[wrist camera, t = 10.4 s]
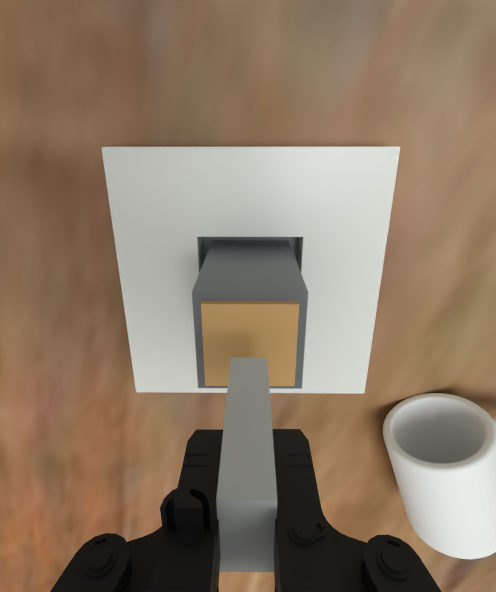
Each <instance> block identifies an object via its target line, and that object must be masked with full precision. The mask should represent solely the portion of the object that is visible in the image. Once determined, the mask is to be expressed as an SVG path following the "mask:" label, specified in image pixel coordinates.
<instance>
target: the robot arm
mask: <svg viewBox="0 0 496 592" xmlns="http://www.w3.org/2000/svg"><path fill="white" fill-rule="evenodd" d="M160 511H161V519H162V527H161V528H159V529H158V530H156V531H155V532H153V533H151V534H149V535H147V536H144V537H141V538H138V539H135V540H131V541H128V542H126V540H125V539H124V538H123V537H121V536H119V535H117V534H110V533H105V534H102V535H99V536H96V537H94V538H92V539H91V540H89V541H88V542H86V543H85V544H84V545H83V546H82V547H81V548H80V549H79V550H78V552H77V553H76V554H75V555H74V557H73V558H72V560H71V561H70V563H69V564H68V566H67V567H66V569H65V570H64V572H63V573H62V575H61V576H60V578H59V579H58V581H57V582H56V584H55V585H54V587H53V588H52V590H51V591H50V592H219V587H218V583H219V570H220V572H274V574H275V592H441V590H440V589H439V587H438V586H437V584H436V582H435V581H434V579H433V578H432V576H431V575H430V573H429V572H428V570H427V568H426V567H425V565H424V564H423V562H422V561H421V559H420V557H419V556H418V555H417V553H416V552H415V551H414V550H413V549H412V548H411V546H410V545H408V544H407V543H405V542H404V541H402V540H401V539H399V538H397V537H393V536H390V535H377V536H375V537H373V538H371V539H369V541H368V543H365V542H362V541H359V540H356V539H354V538H351V537H348V536H346V535H344V534H341V533H340V532H338V531H337V530H336V529H334V528H333V527H332V526H331V525H330V524H329V523H328V522H327V520H326V518H325V517H324V515H323V512H322V509H321V504H320V499H319V494H318V489H317V483H316V478H315V473H314V468H313V462H312V457H311V452H310V447H309V441H308V439H307V438H306V437H305V435H304V434H303V433H302V431H301V430H300V429H272V417H271V403H270V389H269V375H268V361H267V357H231V359H230V369H229V379H228V389H227V399H226V408H225V418H224V428H223V430H196V431H195V432H194V433H193V435H192V436H191V437H190V439H189V440H188V442H187V447H186V452H185V457H184V461H183V467H182V470H181V475H180V479H179V484H178V488H177V489H175V490H173V491H171V492H170V493H169V494H168V495H167V496H166V497H165V498H164V500H163V502H162V505H161V507H160Z"/></svg>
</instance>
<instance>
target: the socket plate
mask: <svg viewBox="0 0 496 592" xmlns="http://www.w3.org/2000/svg"><path fill="white" fill-rule="evenodd" d="M101 148H102V155H103V162H104V169H105V176H106V183H107V190H108V197H109V204H110V211H111V218H112V225H113V232H114V239H115V246H116V253H117V260H118V267H119V274H120V281H121V288H122V296H123V303H124V310H125V317H126V324H127V331H128V338H129V345H130V352H131V359H132V366H133V373H134V380H135V387H136V392H195V393H227V389H228V388H198V380H197V364H196V349H195V333H194V318H193V302H192V290H193V288H194V285H195V283H196V280H197V278H198V275H199V273H200V270H201V268H202V265H203V263H204V260H205V258H206V256H207V253H208V251H209V248H210V246H211V243H212V241H213V240H289V242H290V245H291V248H292V250H293V253H294V256H295V258H296V261H297V264H298V266H299V269H300V272H301V274H302V277H303V280H304V282H305V285H306V288H307V290H308V304H307V319H306V334H305V349H304V364H303V379H302V389H270V388H269V389H270V393H364V392H365V385H366V378H367V371H368V365H369V358H370V351H371V344H372V337H373V330H374V324H375V317H376V310H377V303H378V296H379V289H380V283H381V276H382V269H383V262H384V255H385V248H386V242H387V235H388V228H389V221H390V214H391V207H392V200H393V194H394V187H395V180H396V173H397V166H398V159H399V153H400V147H391V146H216V147H101Z"/></svg>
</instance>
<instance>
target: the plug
mask: <svg viewBox="0 0 496 592" xmlns="http://www.w3.org/2000/svg"><path fill="white" fill-rule="evenodd" d="M192 302H193V318H194V333H195V349H196V364H197V380H198V388H228V379H229V369H230V359H231V357H267V361H268V375H269V388H270V389H302V379H303V364H304V349H305V334H306V319H307V304H308V290H307V288H306V285H305V282H304V280H303V277H302V274H301V272H300V269H299V266H298V264H297V261H296V258H295V256H294V253H293V250H292V248H291V245H290V242H289V240H213V241H212V243H211V246H210V248H209V251H208V253H207V256H206V258H205V260H204V263H203V265H202V268H201V270H200V273H199V275H198V278H197V280H196V283H195V285H194V288H193V290H192Z"/></svg>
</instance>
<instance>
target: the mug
mask: <svg viewBox="0 0 496 592" xmlns="http://www.w3.org/2000/svg"><path fill="white" fill-rule="evenodd" d="M383 437H384V441H385V444H386V447H387V451H388V454H389V457H390V461H391V464H392V467H393V471H394V474H395V477H396V481H397V484H398V487H399V491H400V494H401V497H402V501H403V504H404V507H405V510H406V514H407V517H408V520H409V522H410V524H411V526H412V528H413V529H414V531H415V532H416V533H417V535H418V536H419V537H420V538H421V539H422V540H423V541H424V542H425V543H427V544H428V545H429V546H431V547H432V548H434V549H435V550H437V551H439V552H441V553H443V554H446V555H449V556H452V557H456V558H461V559H478V558H483V557H486V556H489V555H491V554H493V553H495V552H496V419H492V418H491V417H490V415H489V414H488V413H487V412H486V411H485V410H484V409H482V408H481V407H480V406H478V405H477V404H475V403H473V402H472V401H470V400H467V399H465V398H462V397H459V396H455V395H451V394H444V393H428V394H421V395H416V396H413V397H410V398H408V399H405V400H404V401H402V402H400V403H399V404H397V405H396V406H395V407H394V408H392V410H391V411H390V412H389V413H388V415H387V416H386V418H385V421H384V424H383Z"/></svg>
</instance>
